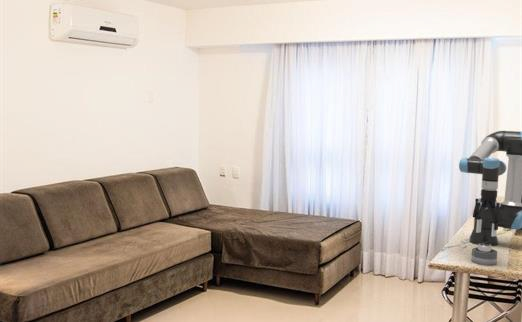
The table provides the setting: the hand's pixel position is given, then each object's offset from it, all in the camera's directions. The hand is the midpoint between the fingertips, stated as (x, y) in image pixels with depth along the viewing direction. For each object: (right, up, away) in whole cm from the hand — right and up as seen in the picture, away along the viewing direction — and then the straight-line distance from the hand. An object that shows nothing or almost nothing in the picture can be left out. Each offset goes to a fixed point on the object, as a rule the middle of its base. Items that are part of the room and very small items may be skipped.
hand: (485, 234), depth 291 cm
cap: (0, -11, +1) cm, 11 cm away
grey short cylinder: (0, -14, +1) cm, 14 cm away
